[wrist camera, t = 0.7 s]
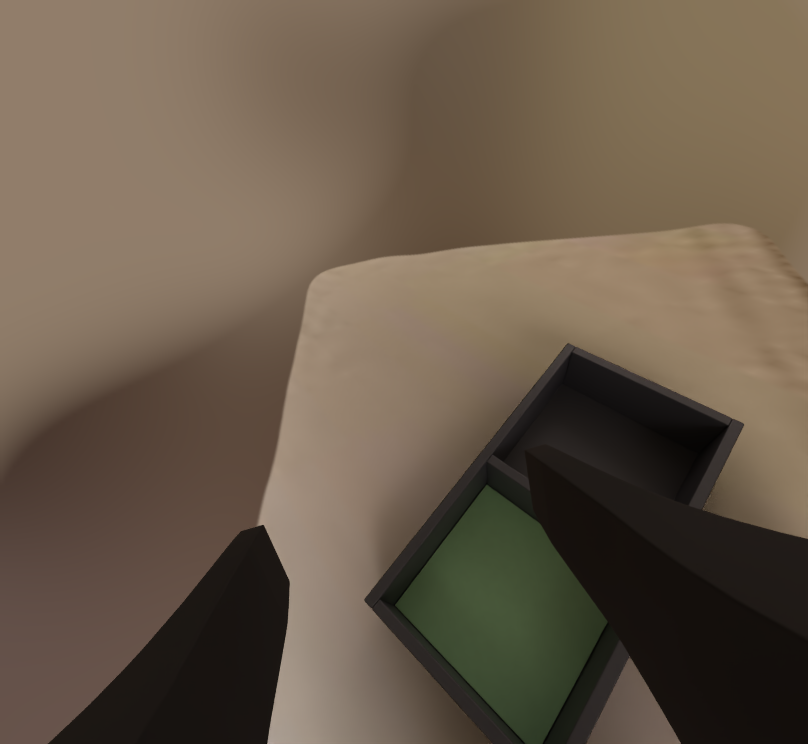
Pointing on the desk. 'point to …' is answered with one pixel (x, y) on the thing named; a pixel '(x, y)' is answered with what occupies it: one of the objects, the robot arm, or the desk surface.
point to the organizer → (541, 552)
